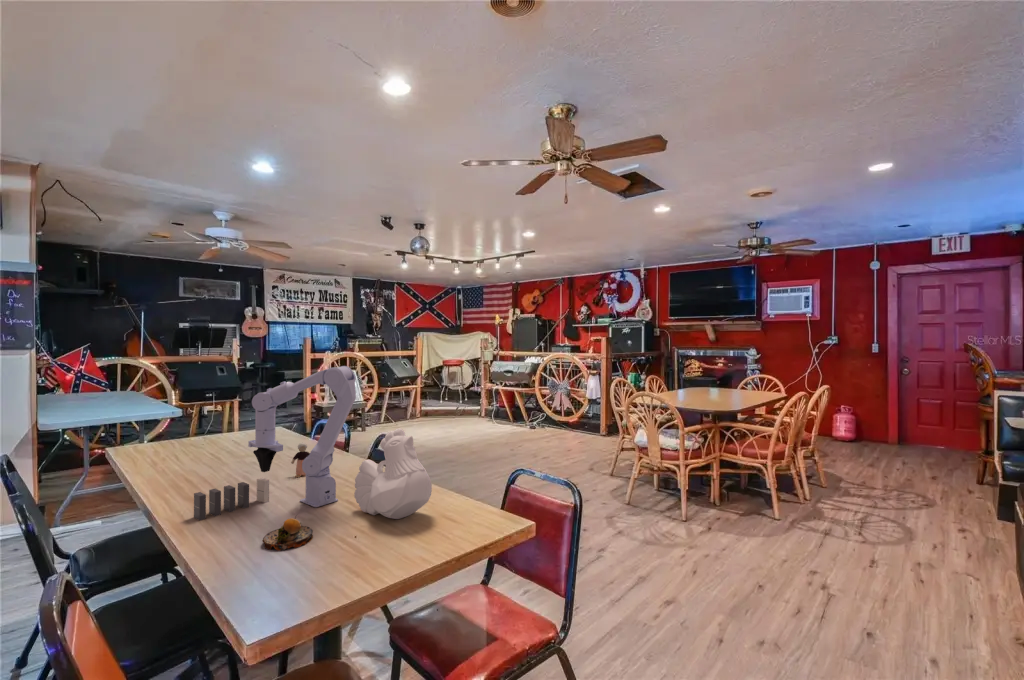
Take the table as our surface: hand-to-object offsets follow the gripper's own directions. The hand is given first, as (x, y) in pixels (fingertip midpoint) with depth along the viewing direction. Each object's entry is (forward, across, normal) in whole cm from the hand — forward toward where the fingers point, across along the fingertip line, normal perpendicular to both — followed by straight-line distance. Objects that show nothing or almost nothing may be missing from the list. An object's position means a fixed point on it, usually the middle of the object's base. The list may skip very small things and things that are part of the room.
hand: (265, 471), depth 150 cm
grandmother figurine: (+10, +12, -24) cm, 29 cm away
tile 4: (+9, +3, +18) cm, 21 cm away
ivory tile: (+9, 0, +1) cm, 9 cm away
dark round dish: (+10, -33, +16) cm, 38 cm away
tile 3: (+9, +2, +14) cm, 17 cm away
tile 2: (+9, +2, +11) cm, 14 cm away
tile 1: (+9, +1, +7) cm, 12 cm away
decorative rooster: (+10, -44, -10) cm, 46 cm away
